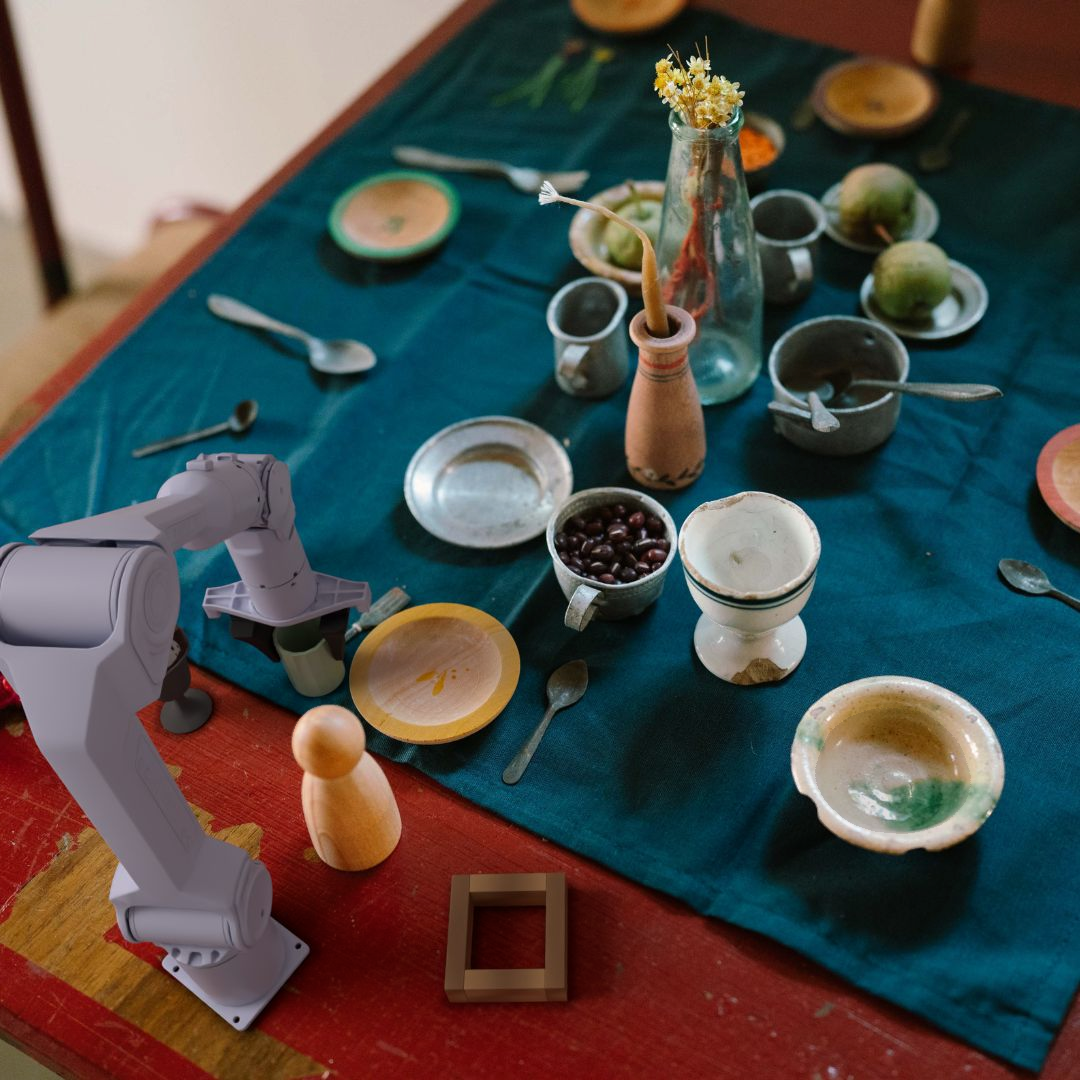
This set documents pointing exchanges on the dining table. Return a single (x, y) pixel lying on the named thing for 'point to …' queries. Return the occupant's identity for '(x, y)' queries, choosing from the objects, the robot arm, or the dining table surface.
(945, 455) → the dining table surface
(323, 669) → the cup
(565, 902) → the brown square frame
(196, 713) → the sundae
